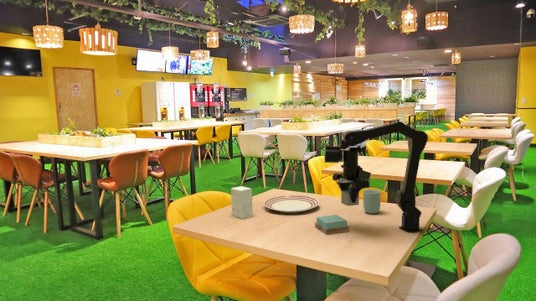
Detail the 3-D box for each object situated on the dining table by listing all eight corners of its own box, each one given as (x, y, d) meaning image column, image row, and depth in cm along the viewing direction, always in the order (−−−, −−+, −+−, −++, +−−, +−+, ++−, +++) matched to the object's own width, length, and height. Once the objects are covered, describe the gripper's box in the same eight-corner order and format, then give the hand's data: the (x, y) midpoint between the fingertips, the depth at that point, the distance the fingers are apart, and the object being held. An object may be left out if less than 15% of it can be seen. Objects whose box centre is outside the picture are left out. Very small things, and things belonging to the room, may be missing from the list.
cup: (382, 214, 171) (382, 193, 170) (365, 215, 171) (365, 193, 170) (377, 210, 179) (378, 189, 178) (361, 210, 179) (361, 189, 178)
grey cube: (358, 204, 151) (359, 192, 150) (347, 206, 149) (348, 193, 148) (351, 201, 155) (352, 189, 155) (341, 203, 154) (341, 190, 153)
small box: (253, 216, 175) (252, 188, 174) (241, 219, 171) (240, 190, 170) (242, 212, 181) (241, 185, 180) (231, 215, 177) (230, 187, 176)
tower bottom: (349, 232, 151) (349, 226, 151) (326, 236, 148) (326, 230, 147) (336, 225, 160) (336, 219, 160) (315, 228, 157) (315, 222, 157)
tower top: (347, 226, 150) (346, 220, 150) (326, 229, 148) (326, 223, 147) (336, 220, 159) (336, 214, 159) (316, 223, 156) (316, 217, 156)
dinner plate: (317, 217, 172) (317, 209, 171) (258, 215, 177) (257, 208, 177) (321, 201, 198) (320, 195, 198) (269, 200, 204) (269, 194, 203)
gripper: (382, 165, 144) (381, 205, 146) (355, 158, 161) (354, 194, 163) (356, 166, 140) (356, 208, 142) (332, 160, 158) (331, 196, 160)
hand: (349, 201), depth 152 cm, fingers closed on grey cube, 5 cm apart
